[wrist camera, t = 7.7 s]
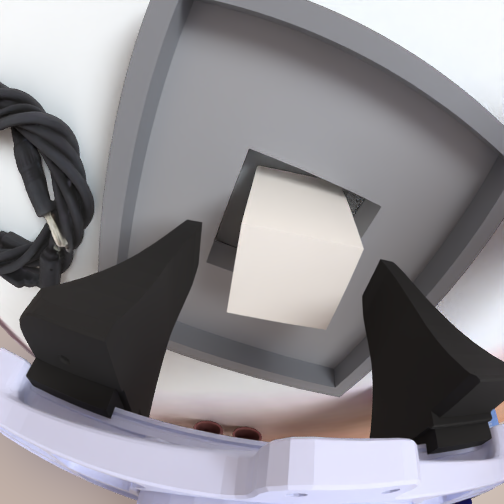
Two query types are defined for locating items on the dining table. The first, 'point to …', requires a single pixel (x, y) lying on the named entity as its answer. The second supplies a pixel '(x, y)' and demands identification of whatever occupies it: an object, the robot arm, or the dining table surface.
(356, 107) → the walled box
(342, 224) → the white rectangular block
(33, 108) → the cable
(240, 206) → the dining table surface
